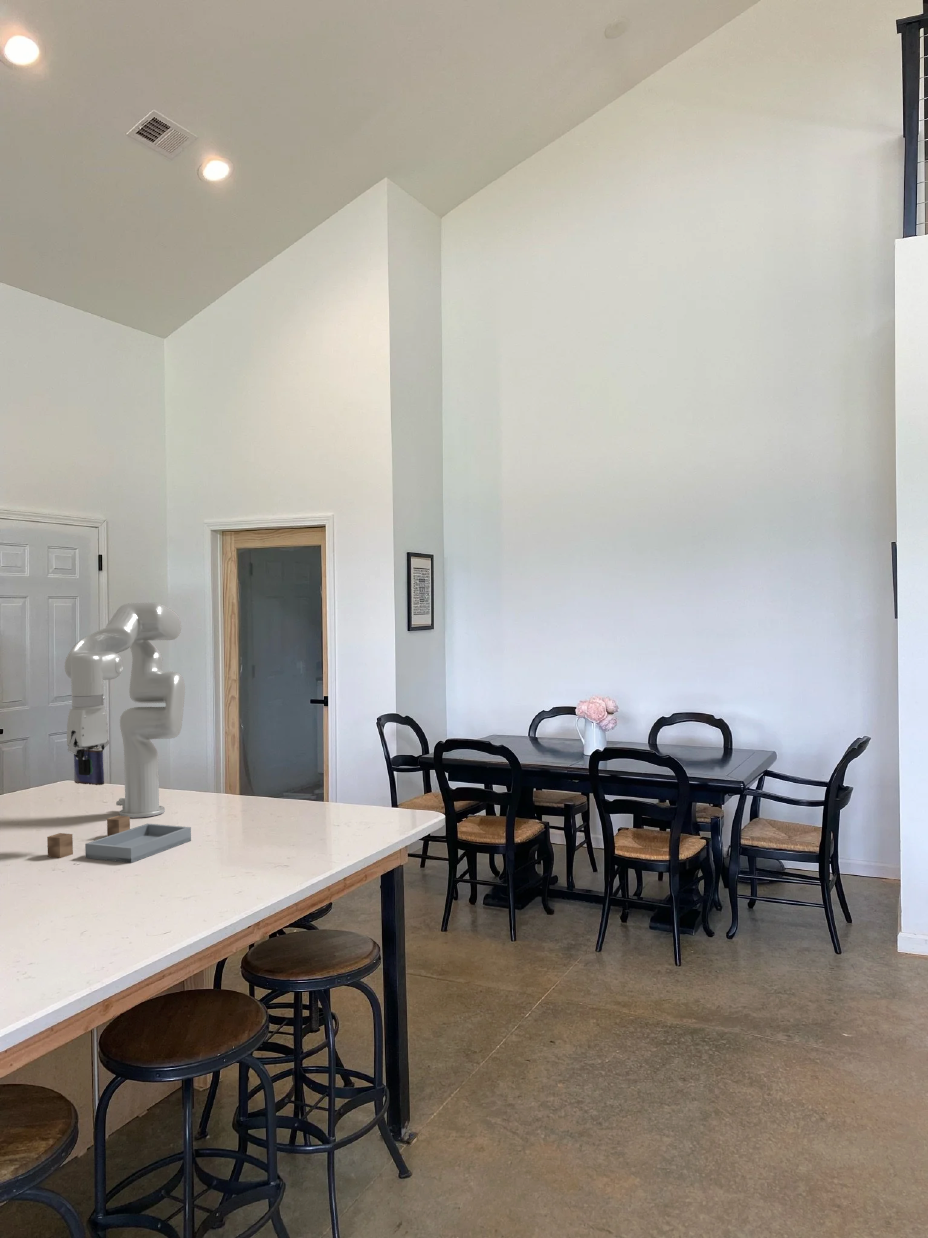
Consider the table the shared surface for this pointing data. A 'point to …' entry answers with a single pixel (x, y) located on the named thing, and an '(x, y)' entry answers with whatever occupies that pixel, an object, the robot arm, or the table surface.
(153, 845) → the tray
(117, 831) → the walnut block far
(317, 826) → the table surface
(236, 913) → the table surface
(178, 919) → the table surface
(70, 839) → the walnut block near
